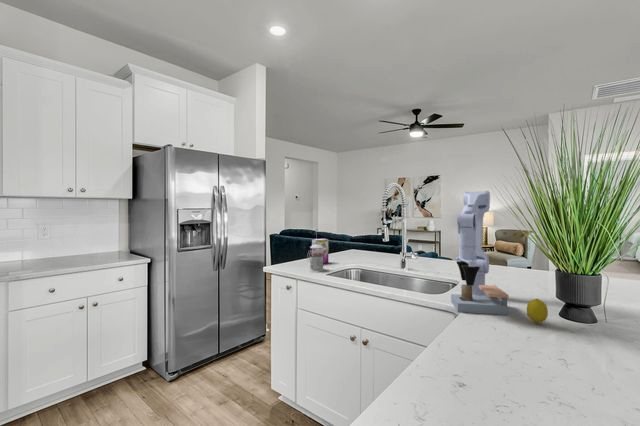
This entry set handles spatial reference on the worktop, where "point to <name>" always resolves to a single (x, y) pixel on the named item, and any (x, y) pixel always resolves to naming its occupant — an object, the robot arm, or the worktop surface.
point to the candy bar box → (322, 250)
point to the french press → (316, 258)
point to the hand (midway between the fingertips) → (467, 282)
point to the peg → (466, 293)
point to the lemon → (537, 311)
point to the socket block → (483, 301)
